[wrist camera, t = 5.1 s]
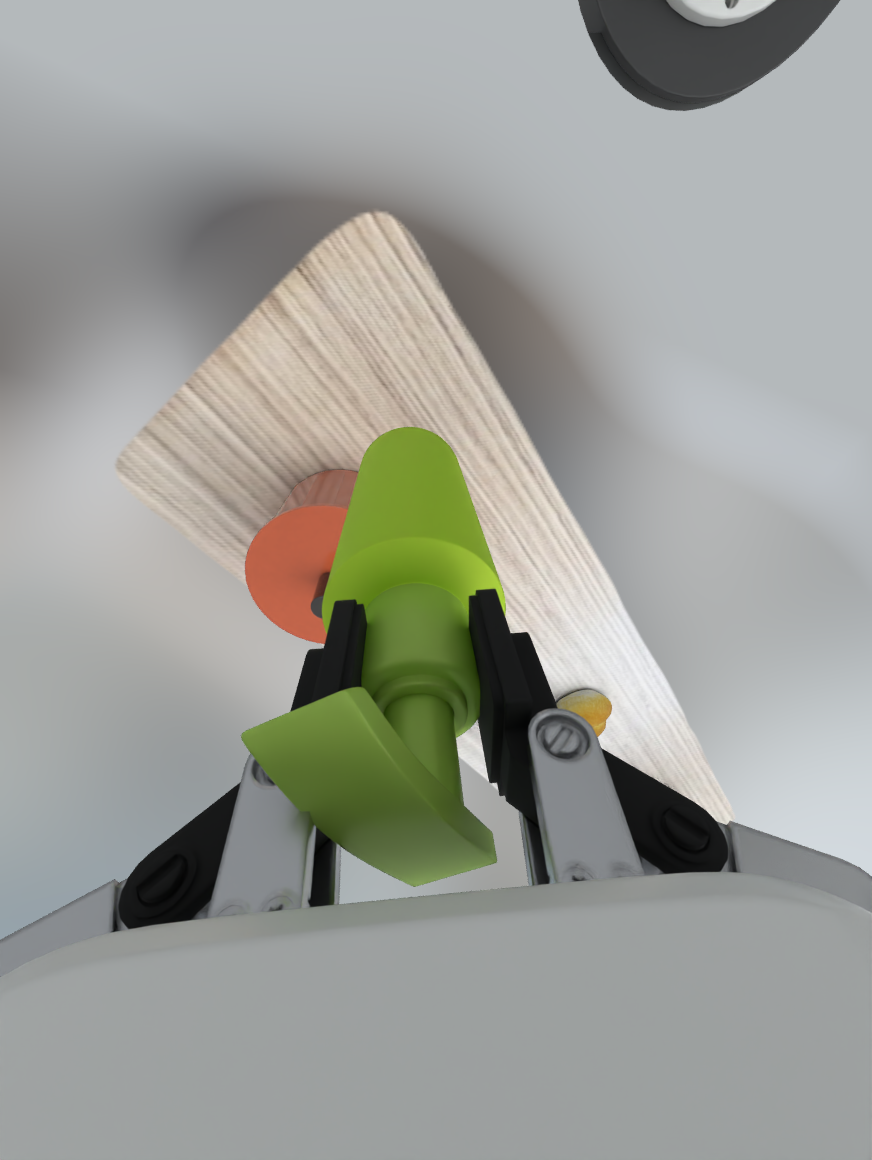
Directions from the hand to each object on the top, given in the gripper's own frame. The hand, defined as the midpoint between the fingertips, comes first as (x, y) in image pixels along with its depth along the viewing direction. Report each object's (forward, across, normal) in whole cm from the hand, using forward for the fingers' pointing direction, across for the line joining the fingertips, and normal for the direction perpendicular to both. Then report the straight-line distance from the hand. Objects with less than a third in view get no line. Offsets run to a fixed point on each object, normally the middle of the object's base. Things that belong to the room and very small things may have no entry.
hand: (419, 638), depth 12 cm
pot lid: (+20, +7, +11) cm, 24 cm away
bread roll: (+30, -22, +42) cm, 56 cm away
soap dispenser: (+15, 0, 0) cm, 15 cm away
